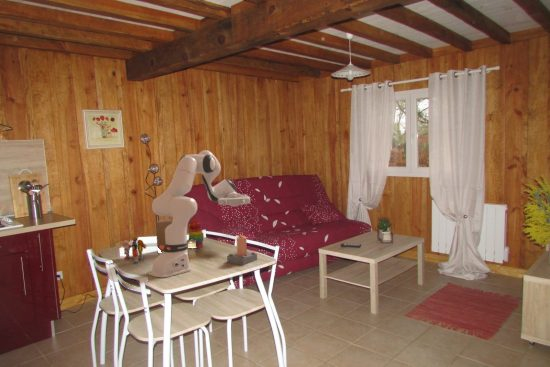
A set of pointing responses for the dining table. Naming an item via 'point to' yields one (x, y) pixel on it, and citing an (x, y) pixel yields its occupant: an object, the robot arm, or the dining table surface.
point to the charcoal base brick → (242, 258)
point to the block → (162, 231)
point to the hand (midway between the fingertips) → (235, 202)
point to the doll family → (134, 249)
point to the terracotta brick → (241, 246)
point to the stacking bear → (196, 233)
